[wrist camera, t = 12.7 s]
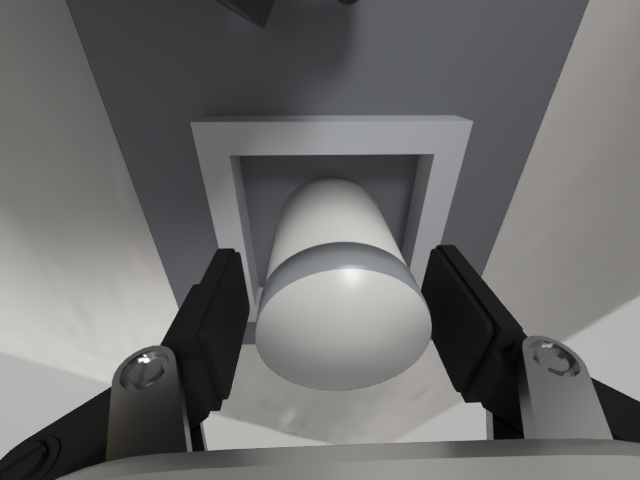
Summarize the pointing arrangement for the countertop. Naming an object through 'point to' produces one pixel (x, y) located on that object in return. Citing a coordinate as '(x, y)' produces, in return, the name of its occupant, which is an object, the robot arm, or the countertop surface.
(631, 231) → the countertop surface
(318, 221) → the white domed cylinder
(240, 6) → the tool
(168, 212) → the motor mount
